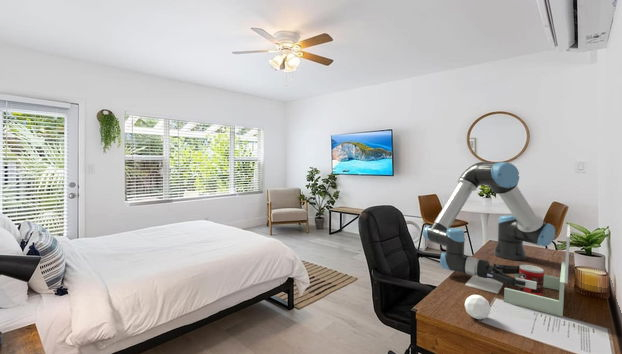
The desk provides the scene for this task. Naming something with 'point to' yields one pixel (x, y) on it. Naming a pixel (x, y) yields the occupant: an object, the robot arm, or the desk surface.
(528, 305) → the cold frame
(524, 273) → the canned food
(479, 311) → the ball
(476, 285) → the tile pad
